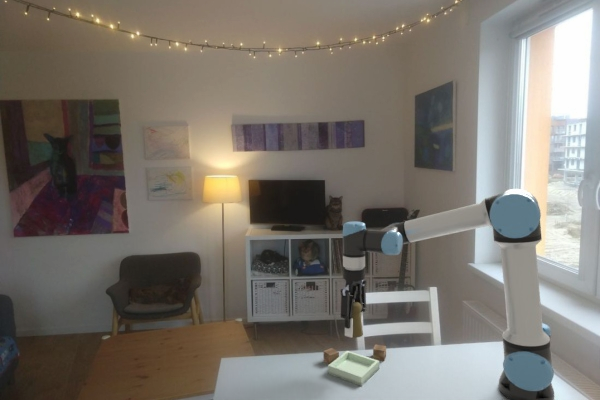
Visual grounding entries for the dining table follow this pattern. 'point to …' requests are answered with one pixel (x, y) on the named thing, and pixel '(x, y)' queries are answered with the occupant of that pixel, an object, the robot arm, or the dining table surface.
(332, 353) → the walnut cube
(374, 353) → the walnut cube
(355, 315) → the olive tall rounded piece
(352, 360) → the tray
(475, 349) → the dining table surface
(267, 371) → the dining table surface
